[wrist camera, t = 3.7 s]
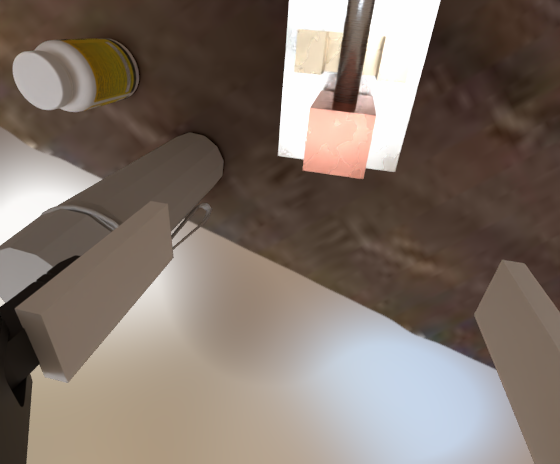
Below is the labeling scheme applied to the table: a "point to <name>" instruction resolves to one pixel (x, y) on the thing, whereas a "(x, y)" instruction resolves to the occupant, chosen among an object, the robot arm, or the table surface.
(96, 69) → the pill bottle
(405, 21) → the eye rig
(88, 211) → the water bottle
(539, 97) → the table surface
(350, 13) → the mallet
